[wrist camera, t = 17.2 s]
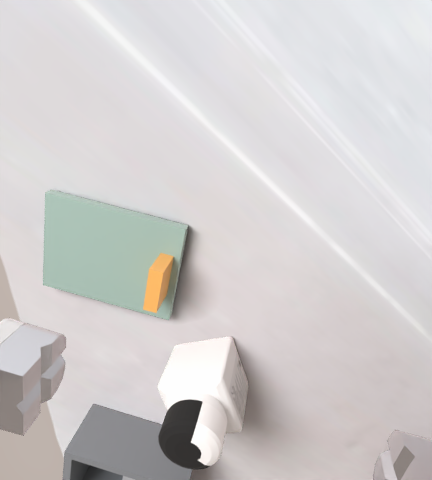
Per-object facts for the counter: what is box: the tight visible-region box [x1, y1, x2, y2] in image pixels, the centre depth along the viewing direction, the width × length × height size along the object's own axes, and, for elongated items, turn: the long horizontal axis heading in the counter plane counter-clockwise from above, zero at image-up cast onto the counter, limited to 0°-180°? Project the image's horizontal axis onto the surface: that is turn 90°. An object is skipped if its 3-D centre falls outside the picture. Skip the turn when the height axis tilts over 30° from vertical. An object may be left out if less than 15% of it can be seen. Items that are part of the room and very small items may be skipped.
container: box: [158, 336, 249, 469], centre depth 46 cm, size 8×8×13 cm
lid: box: [43, 190, 188, 320], centre depth 45 cm, size 16×12×6 cm
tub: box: [63, 404, 192, 480], centre depth 56 cm, size 16×12×8 cm
